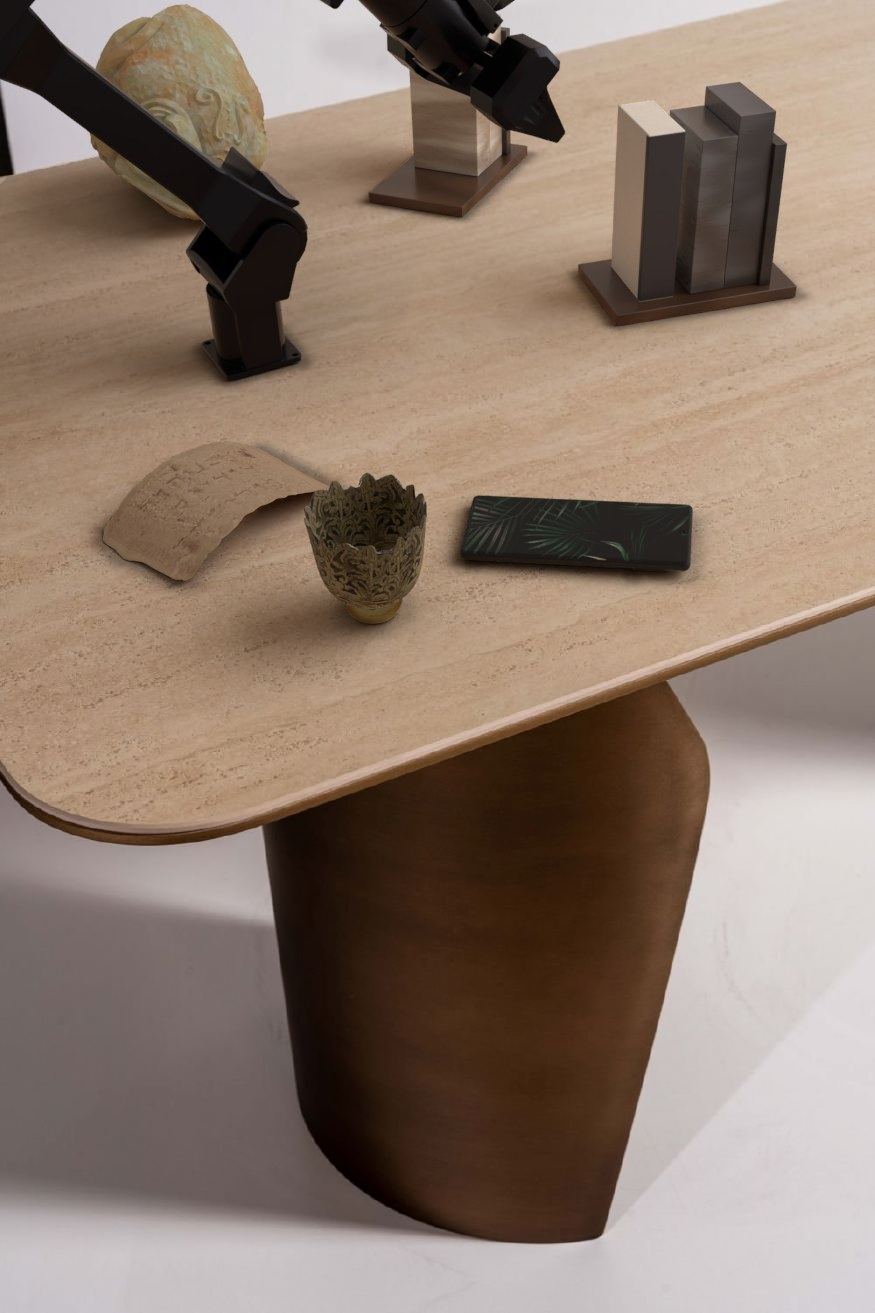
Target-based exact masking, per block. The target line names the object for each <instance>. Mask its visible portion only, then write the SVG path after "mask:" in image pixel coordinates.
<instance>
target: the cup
mask: <svg viewBox="0 0 875 1313" xmlns="http://www.w3.org/2000/svg"><path fill="white" fill-rule="evenodd" d="M329 486H330V487H329V490H324V489H321V490H317V491H314V492H313V493H312V495H311V498H310V503H309V504H310V505H304V506H303V507H304V508H303V512H304V515H305V517H304V518H303V523H304V526H305V527H306V531H307V534H308V539H309V543H310V546H311V547H310V548H311V550H312V554H313V557H314V562H315V564H316V568H317V571H318V573H319V576H320V578H321V580H322V582H323V584H324V586H325V587H326V589H327V591H328V592H329V593H330V594H331V595H332V596H333V597H334V598H335V599H336V600H338V601H339V602H341V603H343V604H344V607H345V609H346V611H347V612H348V614H349V615H350V616H351V617H352V618H353V619H354V620H356V621H358V622H360V623H364V624H369V625H376V624H382V623H385V622H388V621H390V620H392V619H394V617H395V616H397V614H398V613H399V611H400V609H401V607H402V606H403V602H404V601H403V600H404V598H405V597H407V595H408V594H410V592H411V591H412V590H413V588H414V587H415V585H416V583H417V582H418V580H419V577H420V574H421V571H422V565H423V561H424V553H425V542H426V527H427V516H428V504H427V503H428V502H427V500H426V499H425V495H424V493H423V492H420V493H419V494H418V495H417V496H416V490H415V488H416V487H415V485H414V484H408V485H406V486H405V487H403V485H402V482H401V481H400V480H399V479H398V478H397V477H396V476H395V475H394V474H385V475H384V476H382V477H380V478H378V479H376V478H375V476H374V475H373V474H372V473H370V472H365V473H363V474H362V475H361V477H360V478H359V481H358V485H357V487H355V486H352V485H349V486H348V487H347V488H345V489H344V487H342V482H341V481H339V480H333V481H331V482H330V484H329Z"/></svg>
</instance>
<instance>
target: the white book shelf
mask: <svg viewBox="0 0 875 1313" xmlns="http://www.w3.org/2000/svg"><path fill="white" fill-rule="evenodd" d="M497 14H498V15H499V16H500V17H501V18H502V15H501V14H500V13H497ZM507 36H511V28H510V27H505V26H502V24H501V25H500V26H499V27H498V29H497V30H496V31H495V33H494V34H491V33H490V34H489V35H488V36H487V37H489V38H491V39H492V40H494V41H496V42H498V43H500V44H502V43H503V42H504V40H505V39H506V38H507ZM485 53H486V52H485ZM490 56H491V55H490ZM413 59H415V58H413ZM408 70H409V89H410V91H409V92H410V109H411V110H410V111H411V128H412V131H411V132H412V147H413V148H412V149H413V155H412V156H411V157H409V158H408V159H407V160H405V162H403V163H401V165H400V166H398V167H397V168H396V169H395V170H394V171H392V172H391V173H390V174H389V175H388V176H386V177H385V178H384V179H383V180H381V181H380V182H379V183H378V184H377V185H376V186H374V187H373V188H372V189H371V190H370V191H369V192H368V202H369V203H372V204H378V205H385V206H391V207H398V208H403V209H409V210H415V211H421V212H427V213H428V212H429V213H435V214H439V215H440V214H441V215H447V216H452V217H460V218H463V217H464V216H465V215H466V214H468V212H470V210H472V209H473V208H474V207H475V206H476V205H477V204H478V203H479V202H480V201H481V200H482V199H483V198H484V197H485V196H486V195H487V194H488V193H489V192H490V191H491V190H492V189H494V188H495V186H497V185H498V184H499V183H500V182H501V181H502V180H504V178H505V177H506V176H507V175H508V174H509V173H510V172H512V171H513V170H514V169H515V168H516V167H517V166H518V165H519V164H520V163H521V162H522V161H523V160H524V159H525V158H526V157H527V156H528V145H524V144H517V143H516V144H515V143H511V141H512V140H511V132H512V131H511V130H510V131H505V130H504V129H502V128H501V127H499V126H498V125H496V124H494V123H493V122H491V121H490V120H488V119H487V118H486V117H485V116H484V115H483V114H481V113H480V112H479V111H478V110H477V109H476V108H475V107H474V106H473V105H472V104H471V103H470V97H469V96H467V95H464V94H462V93H459V92H456V91H454V90H451V89H449V88H446V87H443V86H440V85H438V84H435V83H432V82H430V81H427V80H425V79H424V78H422V77H421V76H419V75H418V74H416V73H415V72H413V71H412V70H410V69H408Z"/></svg>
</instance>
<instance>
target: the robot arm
mask: <svg viewBox="0 0 875 1313" xmlns="http://www.w3.org/2000/svg"><path fill="white" fill-rule="evenodd" d="M35 1H36V0H0V80H1V81H3V82H6V83H9V84H11V85H14V86H16V87H19V88H22V89H25V90H27V91H30V92H32V93H33V94H36V95H38V96H40V97H41V98H43V99H44V100H45V101H46V102H47V103H49V104H50V105H52V106H53V107H55V108H56V109H57V110H58V111H60V112H61V113H63V114H64V115H65V116H67V117H68V118H69V119H71V120H72V121H73V122H75V123H76V124H77V125H78V126H80V127H82V128H83V129H84V130H85V131H87V133H89V132H90V133H91V134H92V135H94V136H95V137H97V138H98V139H99V140H101V141H102V142H103V143H105V144H106V145H107V146H109V147H110V148H111V149H113V150H114V151H115V152H117V153H118V154H119V155H121V156H122V157H124V158H125V159H126V160H128V161H129V162H130V163H132V164H133V165H134V166H136V167H137V168H138V169H140V170H141V171H142V172H144V173H145V174H146V175H148V176H149V177H151V178H152V179H153V180H155V181H156V182H157V183H159V184H160V185H161V186H163V187H164V188H165V189H167V190H168V191H169V192H171V193H172V194H173V195H175V196H176V197H178V198H179V199H180V200H182V201H183V202H184V203H186V204H187V205H188V206H189V207H190V208H191V210H192V211H193V212H194V213H195V214H196V215H197V216H198V217H199V218H200V219H201V220H200V221H201V222H202V223H203V224H202V225H201V227H200V228H199V230H198V232H197V233H196V234H195V236H194V237H193V239H192V240H191V242H190V243H189V245H188V246H187V247H186V249H185V254H186V256H187V258H188V260H189V261H190V263H191V265H192V267H193V268H194V270H195V271H196V273H197V274H199V275H201V276H202V278H203V279H205V281H206V282H207V283H206V285H205V293H206V299H207V305H208V312H209V317H210V324H211V330H212V335H213V338H211V339H207V340H204V341H202V342H201V347H202V350H203V351H204V353H205V354H206V355H207V357H208V358H209V359H210V360H211V361H212V363H213V364H214V365H215V367H216V368H217V369H218V371H219V372H220V373H221V374H222V376H223V377H224V378H225V379H226V380H228V381H232V380H237V379H241V378H244V377H249V376H252V375H256V374H258V373H263V372H266V371H270V370H274V369H278V368H280V367H285V366H288V365H291V364H296V363H298V362H300V361H302V353H301V352H300V350H298V349H297V347H296V346H295V344H293V343H292V341H290V340H289V338H288V337H287V335H285V328H284V327H285V326H284V320H283V311H282V303H281V302H282V301H286V300H288V299H289V298H290V296H291V291H292V287H293V284H294V283H293V282H294V278H295V273H296V268H297V264H298V263H299V262H300V260H301V259H302V257H303V255H304V253H305V251H306V248H307V243H308V229H309V228H308V224H307V222H306V220H305V219H304V217H303V216H302V215H301V214H300V213H299V212H298V211H297V210H296V209H295V208H296V207H298V206H300V204H301V203H300V200H298V199H297V198H296V197H295V196H294V195H293V194H292V193H290V192H289V191H288V190H287V189H286V188H284V186H283V185H281V183H279V182H278V181H277V180H275V178H273V177H272V176H271V175H270V174H269V173H268V172H267V171H263V170H261V169H260V170H259V169H258V168H257V167H256V166H254V165H253V164H252V163H251V162H250V161H249V160H248V159H247V158H245V157H244V156H243V155H242V154H241V153H240V152H239V151H238V150H236V149H235V148H234V147H233V146H232V147H231V148H230V150H229V152H228V154H227V156H226V158H225V160H224V161H221V160H218V159H216V158H213V157H211V156H208V155H206V154H204V153H202V152H201V151H200V150H198V149H197V148H196V147H194V146H193V145H192V144H191V143H189V142H188V141H187V140H186V139H184V138H183V137H182V136H180V135H179V134H178V133H177V132H175V131H174V130H173V129H172V128H170V127H169V126H168V125H166V124H165V123H164V122H163V121H161V120H160V119H159V118H157V117H156V116H155V115H154V114H152V113H151V112H150V111H149V110H147V109H146V108H145V107H143V106H142V105H141V104H140V103H138V102H137V101H136V100H134V99H133V98H132V97H131V96H129V95H128V94H127V93H126V92H124V91H123V90H122V89H120V88H119V87H118V86H117V85H115V84H114V83H113V82H111V81H110V80H109V79H108V78H106V77H105V76H104V75H103V74H101V73H100V72H99V71H97V70H96V67H94V66H92V65H91V64H90V63H89V62H87V61H86V60H85V59H83V58H82V57H81V56H80V55H78V54H77V53H76V52H74V51H73V50H72V49H71V48H70V47H68V46H67V45H65V44H64V43H63V42H62V41H61V40H60V39H59V38H58V37H57V36H56V35H55V33H54V32H53V31H52V30H51V29H50V27H48V25H47V24H46V23H45V22H44V21H43V20H42V18H40V16H39V15H38V14H37V12H36V11H34V9H32V7H31V6H32V5H33V4H34V3H35ZM319 1H320V2H321V3H323V4H325V5H326V6H328V7H330V8H331V9H333V10H338V9H339V8H340V7H341V5H342V4H343V3H344V2H345V0H319ZM357 1H358V2H359V3H360V4H361V5H362V6H363V7H364V8H365V9H366V10H367V11H368V12H369V13H370V14H371V15H372V16H373V17H374V18H376V19H377V20H378V22H380V24H378V25H379V28H380V29H382V31H383V32H384V33H385V34H386V51H387V52H388V53H389V54H390V55H391V56H393V58H394V59H395V60H397V62H398V63H400V64H401V65H402V66H404V67H405V68H407V69H408V70H409V69H410V70H412V71H413V72H415V73H416V74H418V75H419V76H421V77H422V78H424V79H425V80H427V81H430V82H432V83H435V84H438V85H440V86H443V87H446V88H449V89H451V90H454V91H456V92H459V93H462V94H464V95H467V96H469V97H470V103H471V104H472V105H473V106H474V107H475V108H476V109H477V110H478V111H479V112H480V113H481V114H483V115H484V116H485V117H486V118H487V119H488V120H490V121H491V122H493V123H494V124H496V125H498V126H499V127H501V128H502V129H504V130H505V131H510V132H516V133H520V134H524V135H527V136H530V137H534V138H538V139H541V140H545V141H548V142H550V143H551V142H552V143H554V144H558V143H559V142H560V141H561V140H562V139H563V137H564V136H565V134H566V130H565V127H564V125H563V123H562V120H561V118H560V116H559V114H558V112H557V109H556V108H555V107H556V106H555V105H554V103H553V101H552V98H551V94H550V92H549V90H548V86H549V85H550V83H551V82H552V80H553V79H554V78H555V77H556V75H557V74H558V73H559V71H560V69H561V61H560V60H559V58H558V57H557V56H556V55H555V54H554V53H553V52H552V50H550V48H549V47H548V46H547V45H545V44H544V43H542V42H540V41H537V40H536V39H534V38H532V37H530V36H529V35H527V34H525V33H518V34H510V36H507V38H506V39H505V40H504V42H503V43H502V44H500V43H498V42H496V41H494V40H492V39H491V38H489V37H487V36H488V35H489V34H490V33H491V34H494V33H495V31H496V30H497V29H498V27H499V26H500V25H501V26H502V23H504V19H503V18H502V16H501V17H500V16H499V15H498V14H499V13H497V12H499V11H502V10H504V9H505V8H506V7H508V6H509V5H511V4H512V3H514V2H515V1H516V0H357ZM485 52H486V53H485ZM490 55H491V56H490ZM413 58H415V59H413ZM90 133H89V134H90Z"/></svg>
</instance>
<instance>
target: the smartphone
mask: <svg viewBox="0 0 875 1313" xmlns="http://www.w3.org/2000/svg"><path fill="white" fill-rule="evenodd" d="M693 509H694V508H693V506H691V505H690V504H683V503H664V502H663V503H661V502H660V503H659V502H639V501H637V502H636V501H615V500H595V499H594V500H593V499H571V498H569V499H568V498H549V497H547V498H546V497H529V496H528V497H527V496H526V497H525V496H524V497H523V496H503V495H483V494H481V495H475V496H473V498H472V501H471V505H470V510H469V514H468V518H467V520H466V525H465V530H464V534H463V538H462V542H461V546H460V550H459V555H460V558H461V559H463V560H465V561H478V562H479V561H480V562H497V563H499V562H500V563H517V564H539V565H556V566H557V565H559V566H574V567H575V566H576V567H595V568H612V569H613V568H614V569H633V571H644V572H663V573H665V572H666V571H674V572H686V571H688V570H689V569H690V568H691V561H692V560H691V559H692V540H693V539H692V537H693V516H694V513H693V512H694V510H693Z"/></svg>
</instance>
